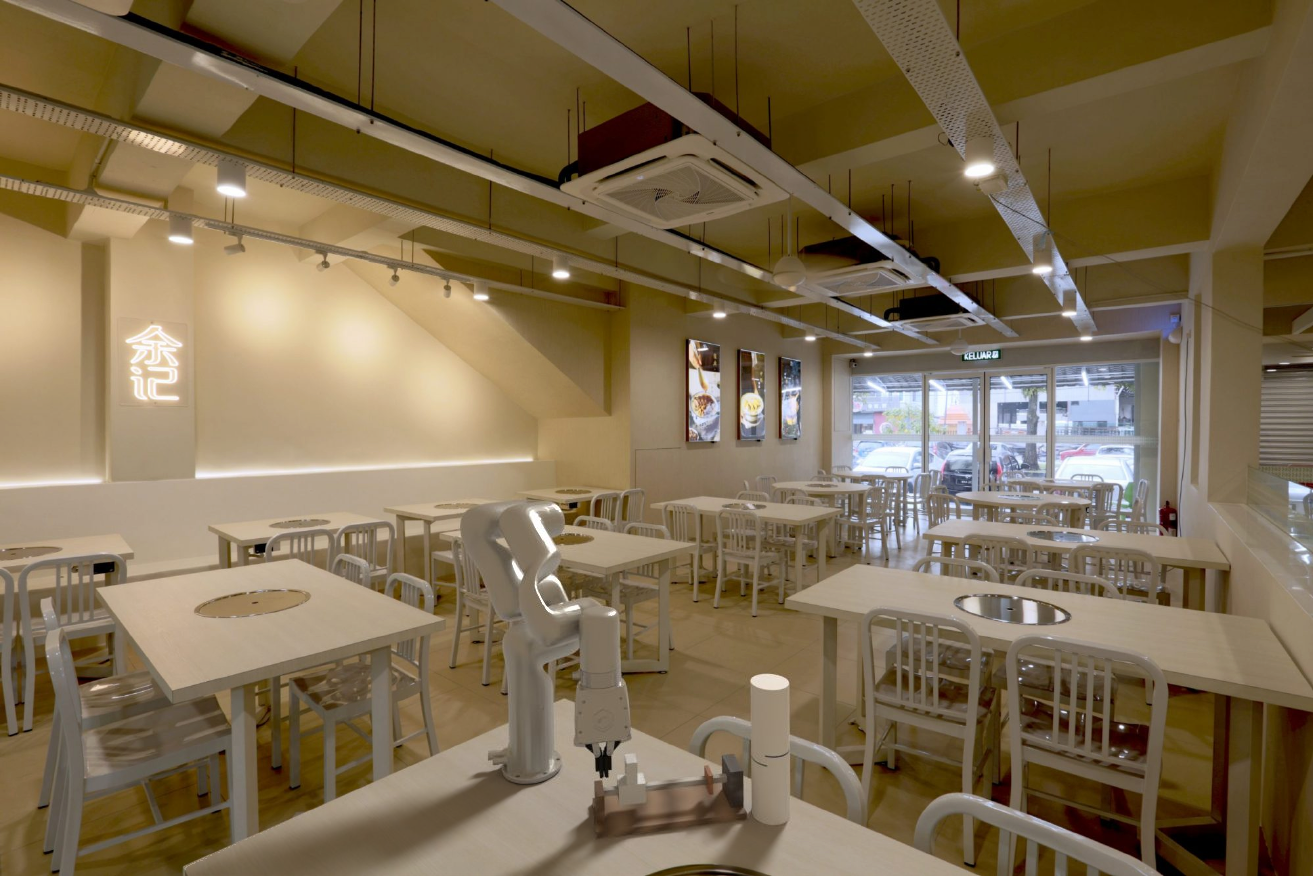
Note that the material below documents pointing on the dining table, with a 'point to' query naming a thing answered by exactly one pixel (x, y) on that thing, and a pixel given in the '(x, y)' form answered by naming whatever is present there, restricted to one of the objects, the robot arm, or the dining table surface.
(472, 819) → the dining table surface
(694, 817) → the rail
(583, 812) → the dining table surface
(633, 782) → the sleeve
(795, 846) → the dining table surface
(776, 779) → the cylindrical container
